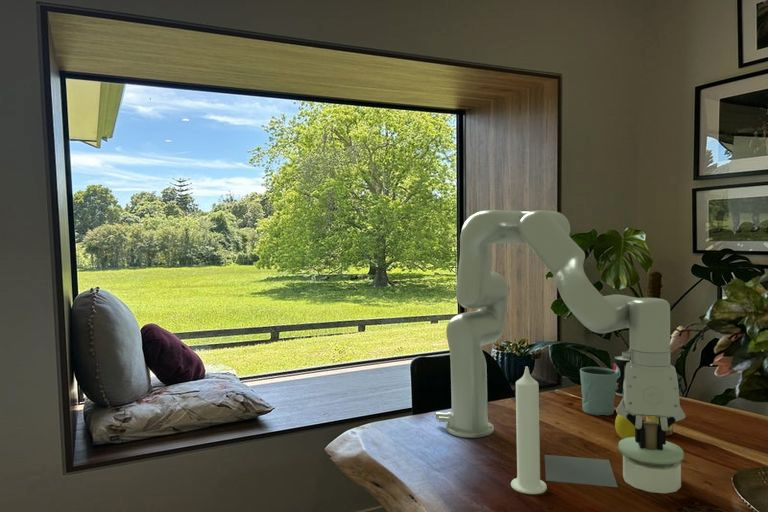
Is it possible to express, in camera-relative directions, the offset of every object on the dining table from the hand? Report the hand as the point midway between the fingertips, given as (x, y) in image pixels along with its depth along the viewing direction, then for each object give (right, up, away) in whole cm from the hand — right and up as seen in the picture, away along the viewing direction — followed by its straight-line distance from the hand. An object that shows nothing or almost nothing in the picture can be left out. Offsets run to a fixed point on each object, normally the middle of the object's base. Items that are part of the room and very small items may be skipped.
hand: (650, 446), depth 111 cm
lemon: (+6, -7, +23) cm, 25 cm away
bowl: (0, -8, 0) cm, 8 cm away
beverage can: (+23, -6, +63) cm, 67 cm away
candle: (-25, -8, -1) cm, 27 cm away
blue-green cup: (+8, -6, +47) cm, 48 cm away
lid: (0, -1, 0) cm, 1 cm away
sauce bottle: (+16, -7, +28) cm, 33 cm away
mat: (-13, -8, +6) cm, 16 cm away
